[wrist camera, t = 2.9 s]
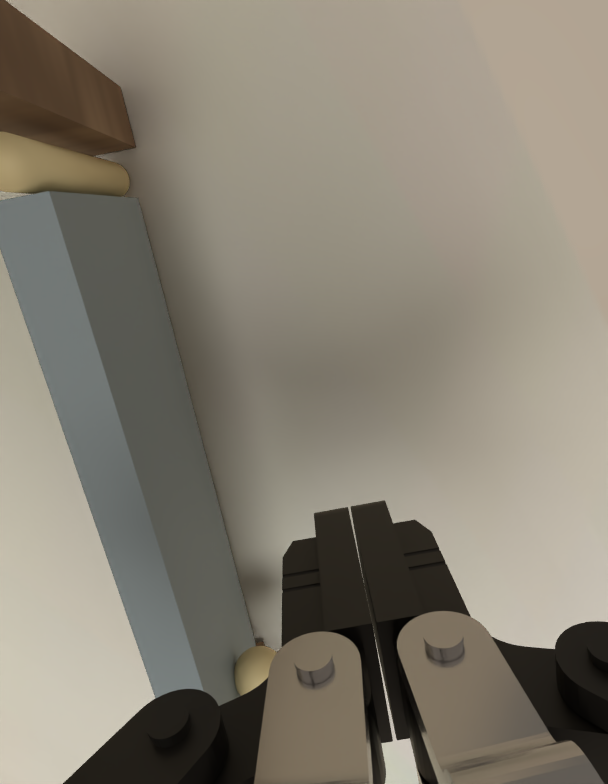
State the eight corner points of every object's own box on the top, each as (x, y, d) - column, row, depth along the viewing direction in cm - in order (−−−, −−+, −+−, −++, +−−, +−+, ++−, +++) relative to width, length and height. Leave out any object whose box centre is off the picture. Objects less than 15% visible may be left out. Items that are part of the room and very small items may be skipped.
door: (86, 166, 16) (-38, 138, 10) (179, 147, 16) (112, 108, 10) (225, 651, 21) (201, 829, 15) (294, 639, 21) (299, 813, 15)
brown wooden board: (65, 98, 16) (-190, -33, 7) (120, 86, 16) (-73, -58, 7) (232, 680, 22) (200, 969, 14) (271, 673, 22) (263, 958, 14)
